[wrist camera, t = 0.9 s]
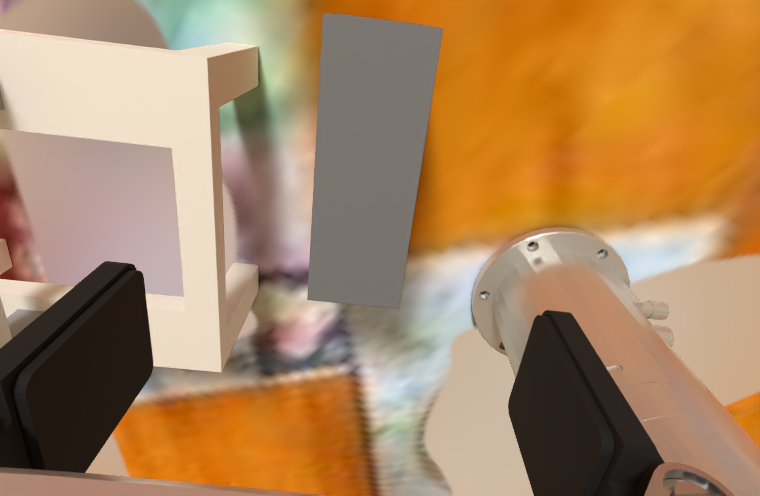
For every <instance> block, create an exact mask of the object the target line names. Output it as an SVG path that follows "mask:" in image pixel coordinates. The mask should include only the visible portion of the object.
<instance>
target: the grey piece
mask: <svg viewBox="0 0 760 496" xmlns="http://www.w3.org/2000/svg"><path fill="white" fill-rule="evenodd" d="M442 32H443V29H442V28H437V27H432V26H427V25H422V24H414V23H406V22H398V21H390V20H382V19H375V18H367V17H359V16H351V15H342V14H326V13H323V24H322V42H321V61H320V79H319V97H318V116H317V134H316V152H315V171H314V189H313V207H312V226H311V244H310V263H309V281H308V299H307V300H314V301H324V302H334V303H344V304H354V305H364V306H374V307H384V308H394V309H399V304H400V298H401V292H402V285H403V279H404V273H405V266H406V260H407V254H408V247H409V241H410V235H411V228H412V222H413V216H414V209H415V203H416V197H417V191H418V184H419V178H420V172H421V165H422V159H423V153H424V146H425V140H426V134H427V127H428V121H429V115H430V108H431V102H432V96H433V89H434V83H435V77H436V70H437V64H438V58H439V51H440V45H441V39H442Z"/></svg>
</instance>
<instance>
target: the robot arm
mask: <svg viewBox="0 0 760 496" xmlns="http://www.w3.org/2000/svg"><path fill="white" fill-rule="evenodd" d="M530 242H532V243H531V244H529V243H530ZM482 291H484V292H482ZM471 305H472V311H473V316H474V319H475V322H476V325H477V328H478V330H479V331H480V333H481V335H482V337H483V338H484V339H485V340H486V341H487V342H488V343H489V345H490V346H492V347H493V348H495V349H496V350H497V351H498V352H500V353H502V354H504V355H506V356H508V358H509V361H510V364H511V366H512V369H513V372H514V375H515V377H516V379H515V382H514V385H513V389H512V392H511V395H510V398H509V404H508V408H509V415H510V419H511V422H512V425H513V429H514V432H515V435H516V439H517V442H518V445H519V448H520V451H521V455H522V458H523V461H524V465H525V468H526V471H527V474H528V478H529V481H530V484H531V487H532V491H533V494H534V496H760V447H759V446H758V445H757V444H756V442H755V441H754V440H753V439H752V438H751V437H750V436H749V435H748V434H747V433H746V431H745V430H744V429H743V428H742V427H741V426H740V425H739V424H738V422H737V421H736V420H735V419H734V418H733V417H732V416H731V415H730V413H729V412H728V411H727V410H726V409H725V408H724V407H723V405H722V404H721V403H720V402H719V401H718V400H717V399H716V398H715V396H714V395H713V394H712V393H711V392H710V391H709V389H708V388H707V387H706V386H705V385H704V384H703V382H702V381H701V380H700V379H699V378H698V377H697V376H696V374H695V373H694V372H693V371H692V370H691V369H690V368H689V367H688V365H687V364H686V363H685V362H684V361H683V360H682V358H681V357H679V355H678V354H677V353H676V352H675V351H674V349H673V348H672V346H673V341H674V336H673V332H672V331H671V329H670V328H668V327H666V326H655V325H652V324H651V323H650V322H649V321H648V320H647V318H649V319H660V320H664V319H666V318H667V317H668V314H669V307H668V305H667V304H666V303H664V302H656V301H640V300H639V299H638V297H637V296H636V295H635V294H634V293H633V292H632V291H631V290H630V280H629V276H628V272H627V268H626V266H625V265H624V263H623V261H622V259H621V257H620V256H619V255H618V254H617V253H616V252H615V250H614V249H613V248H612V247H611V246H609V245H608V244H607V243H606V242H605V241H604V240H603V239H601V238H599V237H597V236H595V235H594V234H592V233H589V232H586V231H583V230H579V229H575V228H566V227H556V228H545V229H540V230H536V231H532V232H529V233H527V234H524V235H522V236H519V237H517V238H515V239H513V240H512V241H510V242H509V243H507V244H505V245H504V246H502V247H501V248H500V249H499V250H498V251H497V252H496V253H494V254H493V255H492V256H491V257H490V258H489V260H488V261H487V262H486V263H485V265H484V266H483V267H482V269H481V271H480V273H479V275H478V276H477V278H476V281H475V284H474V288H473V291H472V303H471ZM152 370H153V354H152V345H151V337H150V328H149V320H148V311H147V302H146V294H145V286H144V277H143V274H142V272H141V271H137V270H136V268H135V266H134V265H133V264H128V263H118V262H109V261H107V262H104V263H102V264H101V265H100V266H99V267H98V268H96V269H95V270H94V271H93V272H91V273H90V274H89V275H88V276H87V277H85V278H84V279H83V280H82V281H81V282H79V284H77V285H76V286H75V287H73V288H72V289H71V290H70V291H69V292H67V293H66V294H65V295H64V296H63V297H61V298H60V299H59V300H58V301H57V302H55V303H54V304H53V305H52V306H51V307H49V308H48V309H47V310H46V311H45V312H43V313H42V314H41V315H40V316H39V317H37V318H36V319H35V320H34V321H33V322H31V323H30V324H29V325H28V326H27V327H25V328H24V329H23V330H22V331H21V332H19V333H18V334H17V335H16V336H15V337H13V338H12V339H11V340H10V341H9V342H7V343H6V344H5V345H4V346H3V347H1V348H0V496H329V495H319V494H308V493H298V492H287V491H277V490H266V489H256V488H245V487H235V486H224V485H213V484H202V483H191V482H179V481H168V480H157V479H146V478H135V477H124V476H113V475H112V476H111V475H102V474H89V473H85V472H86V470H87V469H88V468H89V466H90V464H91V463H92V462H93V460H94V459H95V457H96V456H97V454H98V453H99V451H100V450H101V448H102V447H103V445H104V444H105V442H106V441H107V440H108V438H109V437H110V435H111V434H112V432H113V431H114V429H115V428H116V426H117V425H118V423H119V422H120V420H121V419H122V417H123V416H124V415H125V413H126V412H127V410H128V409H129V407H130V406H131V404H132V403H133V401H134V400H135V398H136V397H137V395H138V394H139V392H140V391H141V389H142V388H143V387H144V385H145V384H146V382H147V381H148V379H149V377H150V376H151V373H152Z"/></svg>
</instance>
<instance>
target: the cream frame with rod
mask: <svg viewBox="0 0 760 496" xmlns="http://www.w3.org/2000/svg"><path fill="white" fill-rule="evenodd" d="M257 86H258V46H253V45H245V44H237V43H229V42H227V43H220V44H214V45H208V46H202V47H196V48H190V49H184V50H178V51H175V50H167V49H159V48H151V47H142V46H134V45H126V44H118V43H109V42H102V41H93V40H85V39H77V38H68V37H61V36H52V35H44V34H36V33H28V32H20V31H11V30H3V29H0V129H8V130H17V131H26V132H35V133H44V134H53V135H62V136H70V137H79V138H89V139H97V140H106V141H115V142H124V143H133V144H141V145H150V146H159V147H169V148H172V158H173V168H174V169H173V170H174V181H175V194H176V206H177V218H178V229H179V241H180V254H181V264H182V265H181V266H182V276H183V277H182V278H183V289H184V297H178V296H168V295H158V294H148V293H145V294H146V302H147V311H148V320H149V328H150V337H151V345H152V354H153V366H157V367H168V368H179V369H190V370H201V371H212V372H222V370H223V368H224V366H225V363H226V361H227V359H228V357H229V355H230V352H231V350H232V348H233V346H234V344H235V341H236V339H237V337H238V335H239V333H240V330H241V328H242V326H243V324H244V322H245V319H246V317H247V315H248V313H249V311H250V308H251V306H252V304H253V302H254V300H255V297H256V295H257V293H258V265H253V264H244V263H233V264H232V266H231V268H230V269H229V271H228V272H227V274H226V276H225V253H224V225H223V200H222V199H223V198H222V170H221V143H220V115H219V107H220V106H222V105H224V104H226V103H228V102H230V101H231V100H233V99H235V98H237V97H239V96H240V95H242V94H244V93H246V92H248V91H250V90H251V89H253V88H255V87H257ZM11 267H13V266H12V262H11V258H10V255H9V251H8V247H7V243H6V239H0V275H1V274H2V273H4V272H5V271H7V270H8V269H10V268H11ZM73 287H75V286H67V285H57V284H47V283H36V282H26V281H16V280H6V279H0V348H1V347H3V346H4V345H5V344H6V343H7V342H9V341H10V340H11V339H12V338H13V337H15V336H16V335H17V334H18V333H19V332H21V331H22V330H23V329H24V328H25V327H27V326H28V325H29V324H30V323H31V322H33V321H34V320H35V319H36V318H37V317H39V316H40V315H41V314H42V313H43V312H45V311H46V310H47V309H48V308H49V307H51V306H52V305H53V304H54V303H55V302H57V301H58V300H59V299H60V298H61V297H63V296H64V295H65V294H66V293H67V292H69V291H70V290H71V289H72V288H73Z"/></svg>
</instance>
